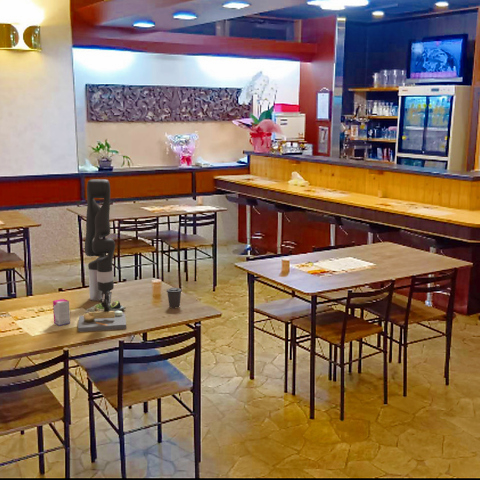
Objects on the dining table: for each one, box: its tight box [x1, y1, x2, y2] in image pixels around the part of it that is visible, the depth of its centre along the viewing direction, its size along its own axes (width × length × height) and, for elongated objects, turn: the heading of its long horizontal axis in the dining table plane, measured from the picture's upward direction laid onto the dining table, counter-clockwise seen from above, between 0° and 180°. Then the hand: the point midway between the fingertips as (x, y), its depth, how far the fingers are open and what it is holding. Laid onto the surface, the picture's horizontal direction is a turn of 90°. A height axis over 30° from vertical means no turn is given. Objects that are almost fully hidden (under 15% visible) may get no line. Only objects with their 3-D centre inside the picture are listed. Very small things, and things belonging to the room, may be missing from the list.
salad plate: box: [86, 300, 127, 313], centre depth 314 cm, size 19×18×5 cm
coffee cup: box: [166, 287, 183, 309], centre depth 321 cm, size 8×8×10 cm
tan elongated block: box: [83, 311, 115, 322], centre depth 294 cm, size 5×14×4 cm, turn 97°
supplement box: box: [52, 298, 71, 327], centre depth 295 cm, size 6×6×12 cm
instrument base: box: [77, 310, 127, 333], centre depth 295 cm, size 18×22×4 cm
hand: (106, 313), depth 297 cm, fingers closed
